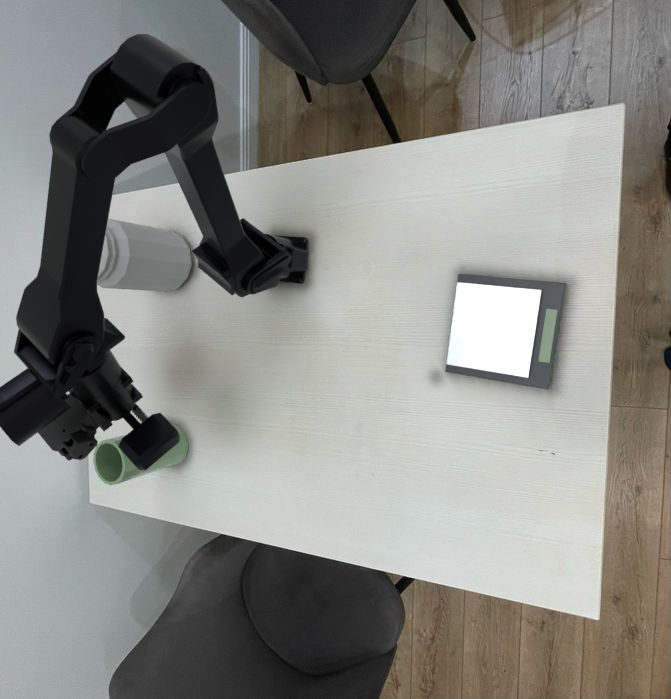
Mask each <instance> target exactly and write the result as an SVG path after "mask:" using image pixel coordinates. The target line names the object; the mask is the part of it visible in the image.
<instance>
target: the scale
mask: <svg viewBox="0 0 671 699" xmlns="http://www.w3.org/2000/svg"><path fill="white" fill-rule="evenodd" d="M566 288H567V284H566V283H565V282H558V281H545V280H535V279H523V278H513V277H512V278H510V277H500V276H489V275H488V276H487V275H479V274H478V275H476V274H475V275H474V274H466V273H464V274H463V273H457V280H456V287H455V294H454V302H453V309H452V317H451V325H450V331H449V332H450V333H449V339H448V348H447V354H446V360H445V369H444V370H445V373H450V374H456V375H462V376H467V377H474V378H479V379H486V380H492V381H497V382H503V383H507V384H514V385H519V386H526V387H533V388H539V389H543V390H549V389H550V388H551V384H552V379H553V378H552V377H553V371H554V365H555V360H556V353H557V348H558V347H557V346H558V339H559V334H560V328H561V322H562V314H563V309H564V308H563V307H564V301H565V295H566Z"/></svg>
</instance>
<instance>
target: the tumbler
mask: <svg viewBox="0 0 671 699" xmlns="http://www.w3.org/2000/svg"><path fill="white" fill-rule="evenodd" d="M171 424H172V423H171ZM172 425H173V426H174V427H175V428H176V429H177V431H178V432H179V434H180V442H179V443H178V444H176V445H175V446H174V447H173V448H172V449H170V450H169V451H168V452H167V453H166V454H165V455H163V456H162V457H161V458H160V459H159V460H157V461H156V462H155V463H154V464H153V465H151V466H150V467H149V468H148V469H147V470H138V469H137V468H136V466H135V465H134V464H133V463H132V462H131V461H130V460H129V459H128V457H127V456H126V455H125V454H124V453H123V452H122V451H121V449H120V448H119V447H118V445H119V443H120V442H121V440H122V438H123V437H124V436H126V435H127V434H125V435H121V436H116V437H112V438H108V439H104V440H101V441H100V442H98V444H97V446H96V447H95V448H94V450H93V458H92V462H93V467H94V471H95V473H96V475H97V477H98V478H99V480H101V481H102V482H103V483H104V484H106V485H109V486H114V485H118V484H121V483H125V482H127V481H131V480H133V479H136V478H139V477H142V476H145V475H148V474H152V473H155V472H158V471H161V470H163V469H166V468H169V467H172V466H175V465H178V464H180V463H182V462H184V460H185V459H186V458H187V455H188V451H189V441H188V437H187V435H186V433H185V431H184V430H183V429H182V428H181V427H180V426H178V425H177V424H172Z"/></svg>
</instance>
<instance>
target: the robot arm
mask: <svg viewBox="0 0 671 699" xmlns="http://www.w3.org/2000/svg"><path fill="white" fill-rule="evenodd" d="M116 50H117V51H116V52H115V53H113V54H112V55H110V57H108V58H107V59H106V60H105V61H104V62H102V63H101V64H100V65H98V66H97V67H96V68H95V69H94V70H93V71H92V72H90V74H89V75H88V76H87V78H86V80H85V82H84V84H83V86H82V88H81V90H80V92H79V94H78V96H77V98H76V101H75V102H74V104H73V106H72V107H70V108H69V109H68V110H67V111H66V112H65V113H63V114H62V115H61V116H59V118H58V119H56V120H55V121H54V122H53V124H52V125H51V127H50V131H49V135H48V136H49V143H50V146H51V151H52V154H51V163H50V170H49V171H50V172H49V181H48V189H47V190H48V191H47V200H46V208H45V218H44V226H43V227H44V228H43V236H42V246H41V253H40V254H41V255H40V262H39V268H38V272H37V275H36V276H35V278H33V280H31V281H30V282H29V283H27V284H28V285H26V286H25V288H24V289H23V292H22V296H21V299H20V302H19V305H18V309H17V312H16V317H15V320H16V322H15V323H16V326H17V328H18V330H17V335H16V340H15V343H14V344H15V345H14V349H13V353H14V355H15V356H16V357H17V358H18V359H19V360H20V361H21V363H23V365H24V366H25V367H26V369H24V370H23V371H21V372H20V373H18V374H17V375H15V376H14V377H12V378H11V379H10V380H8V381H6V382H5V383H4V384H2V385H1V386H0V428H1V430H2V431H3V432H4V433H5V435H6V436H7V437H8V439H10V441H11V442H12V443H13V444H15V445H17V446H18V447H20V446H22V445H23V444H25V443H26V442H27V441H28V440H30V439H31V438H33V437H34V436H35V435H36V434H38V435H39V436H40V437H41V438H42V440H43V441H44V442H45V444H47V446H48V447H49V448H50V449H51V450H52V451H54V452H58V453H59V454H60V456H61V457H64V458H65V459H66V461H72V460H78V461H82V460H84V459H86V458H87V457H88V456H89V455H90V454H91V453H92V451H94V450H95V448H96V446H97V445H98V444H99V442H98V440H97V439H96V434H97V430H98V428H100V429H101V430H102V431H103V432H106V431H107V430H108V429H109V428H111V427H112V426H113V422H117V421H120V420H122V419H123V420H124V421H125V422H126V424H128V425H129V426H130V428H131V429H132V430H131V431H129V432H128V433H127V434H125V435H126V436H124V435H123V436H124V437H123V438H122V440H121V442H120V443H119V445H118V447H119V448H120V449H121V451H122V452H123V453H124V454H125V455H126V456H127V457H128V459H129V460H130V461H131V462H132V463H133V464H134V465H135V466H136V468H137V469H138V470H147V469H148V468H149V467H150V466H151V465H153V464H154V463H155V462H156V461H157V460H159V459H160V458H161V457H162V456H163V455H165V454H166V453H167V452H168V451H169V450H170V449H172V448H173V447H174V446H175V445H176V444H178V443H179V442H180V434H179V432H178V431H177V429H176V428H175V427H174V426H173V425H174V424H173V425H172V423H171V421H169V420H168V419H167V418H166V417H165V416H164V415H163V413H161V412H157V413H152V414H151V415H150V416H149V415H147V413H145V412H144V411H143V410H142V408H141V407H140V406H139V405H138V404H137V402H139V401H140V400H141V399H143V398H144V395H143V394H142V393H141V392H140V391H139V390H138V389H137V387H135V385H134V384H132V383H134V379H133V378H132V376H131V375H129V373H128V372H127V371H126V370H125V369H124V368H123V367H122V366H121V365H120V363H119V362H118V360H117V359H116V356H115V355H114V354H113V352H112V349H113V348H115V347H116V346H118V345H119V344H120V343H122V342H123V341H124V340H125V339H126V336H125V334H124V333H123V332H122V331H120V330H119V328H118V327H117V326H115V324H113V323H112V322H111V321H110V320H109V319H108V318H106V317H105V312H104V309H103V305H102V302H101V299H100V295H99V292H98V285H97V279H98V273H99V268H100V262H101V256H102V251H103V245H104V239H105V234H106V228H107V222H108V219H109V216H110V211H111V205H112V199H113V194H114V188H115V182H116V178H118V177H119V176H120V175H121V174H122V173H123V172H124V171H125V170H127V169H128V168H129V167H130V166H131V165H133V164H136V163H139V162H141V161H145V160H148V159H150V158H153V157H157V156H158V155H161V154H165V156H166V158H167V161H168V162H169V165H170V167H171V170H172V171H173V174H174V176H175V178H176V181H177V183H178V185H179V187H180V189H181V191H182V194H183V196H184V198H185V200H186V202H187V204H188V207H189V209H190V211H191V213H192V215H193V217H194V219H195V222H196V224H197V226H198V228H199V231H200V233H201V235H202V238H201V240H200V242H199V245H197V246H196V247H195V248H194V249H192V250H191V254H193V255H194V256H195V258H196V259H197V268H198V269H199V270H201V271H202V272H203V273H204V274H205V275H207V276H208V277H210V279H211V280H212V281H214V282H215V283H216V284H217V285H218V286H220V287H221V288H222V289H224V290H225V291H226V292H227V293H228V294H229V295H231V296H234V295H236V296H238V297H239V298H245V297H246V296H248V295H256V294H258V293H262V292H264V291H267V290H270V289H273V288H276V287H277V286H278V284H279V282H281V283H290V284H297V285H298V284H299V285H302V284H304V282H305V279H306V270H307V265H308V257H309V256H308V254H309V253H308V249H309V239H308V238H307V237H305V236H291V235H290V236H289V235H276V234H275V235H274V234H269V233H264V232H263V231H261V230H260V229H259V228H257V227H256V226H255V225H253V224H252V223H250V221H248V220H246V219H245V218H241V219H240V216H239V214H238V210H237V208H236V207H237V206H236V204H235V202H234V199H233V196H232V193H231V191H230V187H229V185H228V182H227V179H226V177H225V173H224V170H223V166H222V164H221V162H220V159H219V156H218V152H217V150H216V147H215V144H214V141H213V137H214V134H215V131H216V129H217V127H218V123H219V118H220V117H219V110H218V102H217V96H216V90H215V83H214V81H213V80H214V79H213V78H212V76H211V75H210V73H209V71H208V70H207V69H206V68H205V67H203V66H202V65H200V64H199V63H197V62H195V61H193V60H192V59H190V58H189V57H187V56H186V55H184V54H182V53H181V52H180V51H178V50H176V49H174V48H173V47H171V46H170V45H168V44H167V43H165V42H164V41H162V40H161V39H159V38H157V37H156V36H153V35H151V34H148V33H136V34H134V35H132V36H130V37H128V38H127V39H126V40H124V41H123V42H122V43H121V44H120V45H119V46H118V49H116ZM124 103H125V105H126V106H127V107H128V109H129V110H130V111H131V113H132V114H133V116H134V117H135V118H134V119H132V120H129V121H125V122H123V123H121V124H118V125H117V124H116V125H115V126H112V127H109V125H110V122H111V120H112V118H113V116H114V114H115V112H116V110H117V109H118V108H119V107H120V106H122V104H124ZM108 127H109V128H108ZM68 392H69V393H68Z"/></svg>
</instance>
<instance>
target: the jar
mask: <svg viewBox="0 0 671 699" xmlns="http://www.w3.org/2000/svg"><path fill="white" fill-rule="evenodd" d="M192 262H193V261H192V251H191V249H190V247H189V245H188V244H187V242H186V241H185V239H184V237H183V236H182V235H181V234H178V233H177V232H175V231H172V230H169V229H164V228H160V227H154V226H149V225H145V224H144V225H143V224H140V223H139V224H138V223H132V222H127V221H123V220H117V219H112V218H108V222H107V228H106V234H105V239H104V245H103V251H102V256H101V262H100V268H99V273H98V279H97V287H100V288H102V289H111V290H132V291H150V292H165V293H166V292H170V291H175V290H178V289H179V288H181V286H182V285H183V284H184V283H185V282H186V281H187V280H188V278H189V275H190V272H191V268H192V266H193V263H192Z"/></svg>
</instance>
